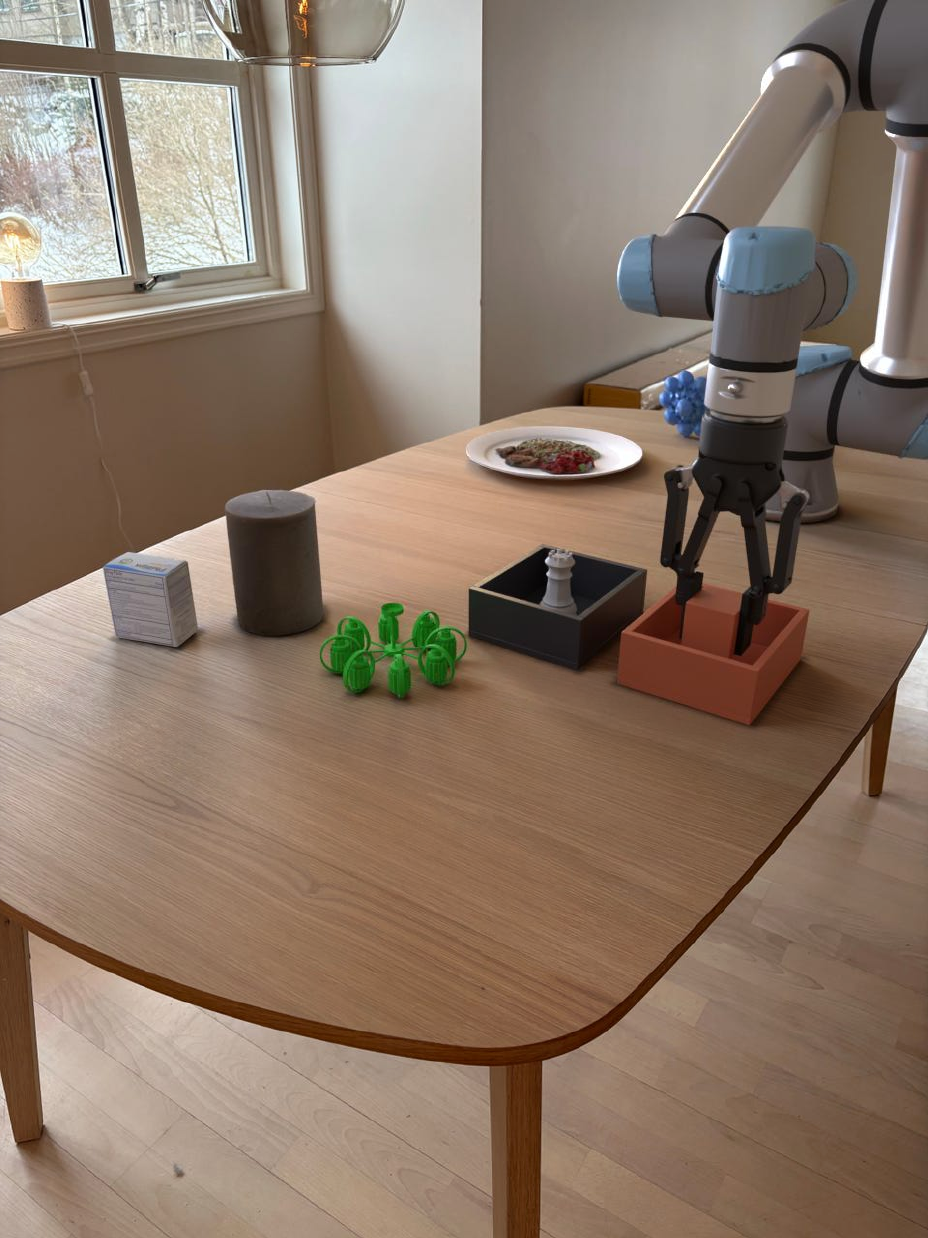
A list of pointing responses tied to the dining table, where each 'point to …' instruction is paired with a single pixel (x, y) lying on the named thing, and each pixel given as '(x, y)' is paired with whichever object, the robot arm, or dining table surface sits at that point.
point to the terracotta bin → (711, 660)
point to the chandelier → (393, 650)
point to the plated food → (554, 452)
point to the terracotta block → (712, 622)
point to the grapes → (684, 402)
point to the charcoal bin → (522, 625)
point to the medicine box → (151, 598)
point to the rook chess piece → (559, 582)
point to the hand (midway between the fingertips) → (714, 641)
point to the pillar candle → (275, 561)
